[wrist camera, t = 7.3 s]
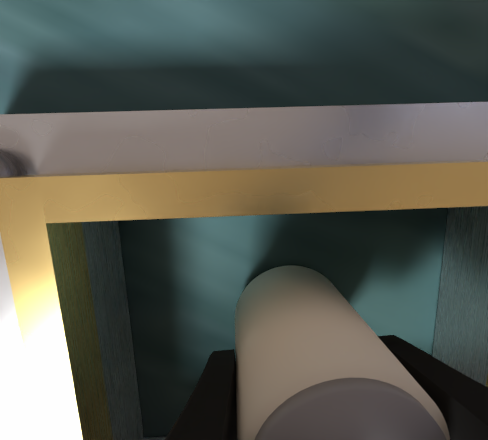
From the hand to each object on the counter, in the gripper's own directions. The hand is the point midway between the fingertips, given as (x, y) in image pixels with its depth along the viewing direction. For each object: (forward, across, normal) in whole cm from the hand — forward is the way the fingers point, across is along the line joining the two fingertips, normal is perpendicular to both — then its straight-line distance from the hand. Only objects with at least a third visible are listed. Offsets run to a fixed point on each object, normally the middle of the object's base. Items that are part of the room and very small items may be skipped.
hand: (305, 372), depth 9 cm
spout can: (+2, 0, 0) cm, 2 cm away
